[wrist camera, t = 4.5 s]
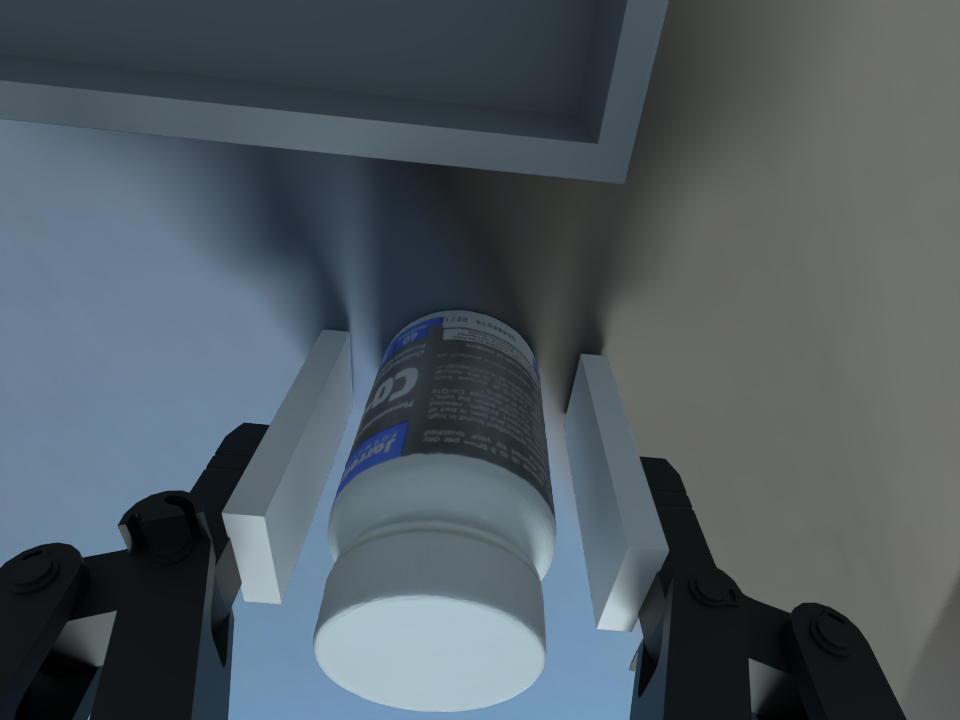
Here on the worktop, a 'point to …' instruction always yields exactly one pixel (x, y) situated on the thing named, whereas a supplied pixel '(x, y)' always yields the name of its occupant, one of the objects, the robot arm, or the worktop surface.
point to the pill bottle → (442, 524)
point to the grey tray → (347, 76)
